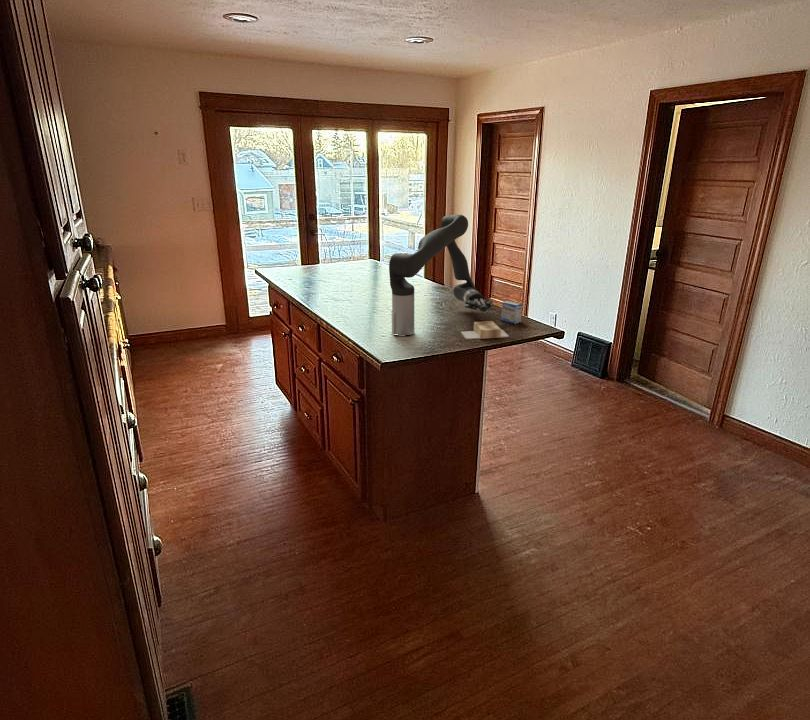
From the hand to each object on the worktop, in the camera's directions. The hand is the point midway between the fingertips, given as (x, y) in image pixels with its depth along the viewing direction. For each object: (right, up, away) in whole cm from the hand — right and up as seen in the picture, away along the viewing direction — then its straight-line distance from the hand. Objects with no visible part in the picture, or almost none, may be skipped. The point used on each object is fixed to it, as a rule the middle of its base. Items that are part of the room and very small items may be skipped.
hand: (484, 309), depth 217 cm
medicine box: (+14, -4, +16) cm, 22 cm away
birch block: (0, -6, +4) cm, 8 cm away
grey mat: (0, -11, -1) cm, 11 cm away
